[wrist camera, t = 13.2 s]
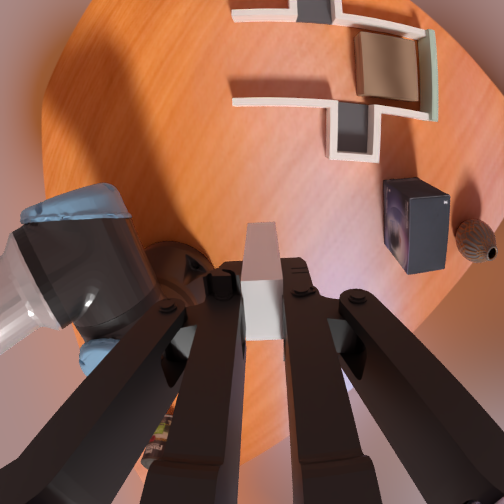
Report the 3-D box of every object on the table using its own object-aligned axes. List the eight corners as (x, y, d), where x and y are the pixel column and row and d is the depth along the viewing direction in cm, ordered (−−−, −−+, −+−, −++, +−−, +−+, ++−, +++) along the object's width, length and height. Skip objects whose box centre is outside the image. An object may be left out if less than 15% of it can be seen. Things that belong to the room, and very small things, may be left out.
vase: (458, 209, 42) (487, 227, 34) (484, 219, 42) (512, 238, 34) (444, 246, 45) (470, 270, 37) (470, 254, 45) (496, 277, 37)
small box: (380, 179, 41) (408, 197, 32) (418, 176, 41) (452, 193, 31) (381, 245, 46) (406, 276, 36) (417, 240, 45) (446, 269, 35)
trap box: (236, 155, 42) (232, 158, 38) (234, -22, 30) (230, -33, 27) (422, 165, 40) (434, 170, 36) (418, -1, 28) (429, -9, 25)
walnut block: (356, 95, 37) (364, 93, 33) (353, 38, 33) (360, 31, 30) (406, 101, 36) (418, 101, 33) (403, 46, 33) (414, 40, 29)
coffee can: (147, 418, 69) (132, 460, 56) (173, 410, 66) (159, 456, 53) (173, 437, 72) (162, 478, 59) (200, 431, 69) (191, 475, 56)
